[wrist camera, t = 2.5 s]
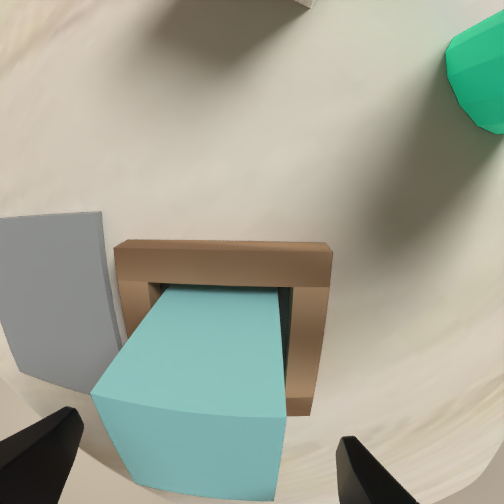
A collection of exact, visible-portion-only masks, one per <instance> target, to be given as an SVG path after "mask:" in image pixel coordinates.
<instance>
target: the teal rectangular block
mask: <svg viewBox="0 0 504 504" xmlns="http://www.w3.org/2000/svg"><path fill="white" fill-rule="evenodd" d="M90 394H91V397H92V399H93V402H94V404H95V406H96V409H97V411H98V413H99V415H100V418H101V420H102V422H103V424H104V426H105V428H106V430H107V432H108V434H109V436H110V438H111V440H112V442H113V444H114V446H115V448H116V450H117V452H118V454H119V456H120V458H121V459H122V461H123V463H124V465H125V466H126V468H127V470H128V472H129V473H130V475H131V477H132V478H133V480H134V482H135V483H136V484H139V485H143V486H147V487H151V488H156V489H160V490H165V491H170V492H176V493H181V494H187V495H194V496H201V497H209V498H218V499H229V500H245V501H274V497H275V491H276V485H277V479H278V473H279V467H280V460H281V454H282V447H283V440H284V433H285V426H286V418H287V416H286V399H285V384H284V369H283V355H282V341H281V328H280V315H279V303H278V291H277V287H262V286H225V285H198V284H175V283H171V284H170V285H169V286H168V288H167V289H166V290H165V292H164V293H163V294H162V296H161V297H160V298H159V299H158V301H157V302H156V303H155V305H154V306H153V307H152V309H151V310H150V311H149V313H148V314H147V315H146V316H145V318H144V319H143V320H142V322H141V323H140V324H139V326H138V327H137V328H136V330H135V331H134V332H133V334H132V335H131V337H130V338H129V339H128V341H127V342H126V343H125V345H124V346H123V347H122V349H121V350H120V352H119V353H118V354H117V356H116V357H115V358H114V360H113V361H112V363H111V364H110V365H109V367H108V368H107V370H106V371H105V372H104V374H103V375H102V377H101V378H100V380H99V381H98V382H97V384H96V385H95V387H94V388H93V390H92V391H91V392H90Z"/></svg>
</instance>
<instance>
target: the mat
mask: <svg viewBox="0 0 504 504" xmlns="http://www.w3.org/2000/svg"><path fill="white" fill-rule="evenodd" d="M0 321H1V324H2V327H3V330H4V333H5V336H6V339H7V341H8V344H9V347H10V349H11V352H12V354H13V357H14V359H15V361H16V364H17V366H18V368H19V371H20V372H22V373H25V374H28V375H30V376H33V377H35V378H38V379H41V380H44V381H47V382H50V383H53V384H56V385H59V386H62V387H65V388H68V389H71V390H75V391H78V392H82V393H85V394H89V395H91V394H90V392H91V391H92V390H93V388H94V387H95V385H96V384H97V382H98V381H99V380H100V378H101V377H102V375H103V374H104V372H105V371H106V370H107V368H108V367H109V365H110V364H111V363H112V361H113V360H114V358H115V357H116V356H117V354H118V353H119V352H120V350H121V349H122V343H121V339H120V335H119V330H118V325H117V321H116V316H115V311H114V305H113V300H112V294H111V288H110V282H109V276H108V269H107V262H106V254H105V245H104V236H103V226H102V214H101V212H80V213H63V214H47V215H33V216H20V217H8V218H0Z"/></svg>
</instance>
